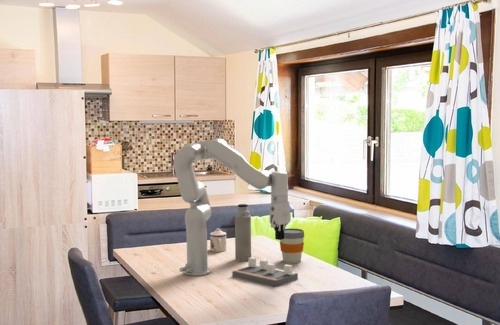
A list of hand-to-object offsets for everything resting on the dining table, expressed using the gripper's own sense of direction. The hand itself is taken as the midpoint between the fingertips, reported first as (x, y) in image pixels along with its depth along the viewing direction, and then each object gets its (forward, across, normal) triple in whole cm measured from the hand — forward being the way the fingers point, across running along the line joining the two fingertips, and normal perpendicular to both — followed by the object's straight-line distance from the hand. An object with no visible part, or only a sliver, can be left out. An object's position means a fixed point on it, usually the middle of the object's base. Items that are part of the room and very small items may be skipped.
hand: (279, 238), depth 286 cm
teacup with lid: (+17, +18, +56) cm, 62 cm away
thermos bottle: (+17, +12, +34) cm, 40 cm away
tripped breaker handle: (+14, -7, 0) cm, 16 cm away
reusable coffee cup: (+17, +26, +14) cm, 34 cm away
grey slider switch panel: (+17, -6, +4) cm, 19 cm away
